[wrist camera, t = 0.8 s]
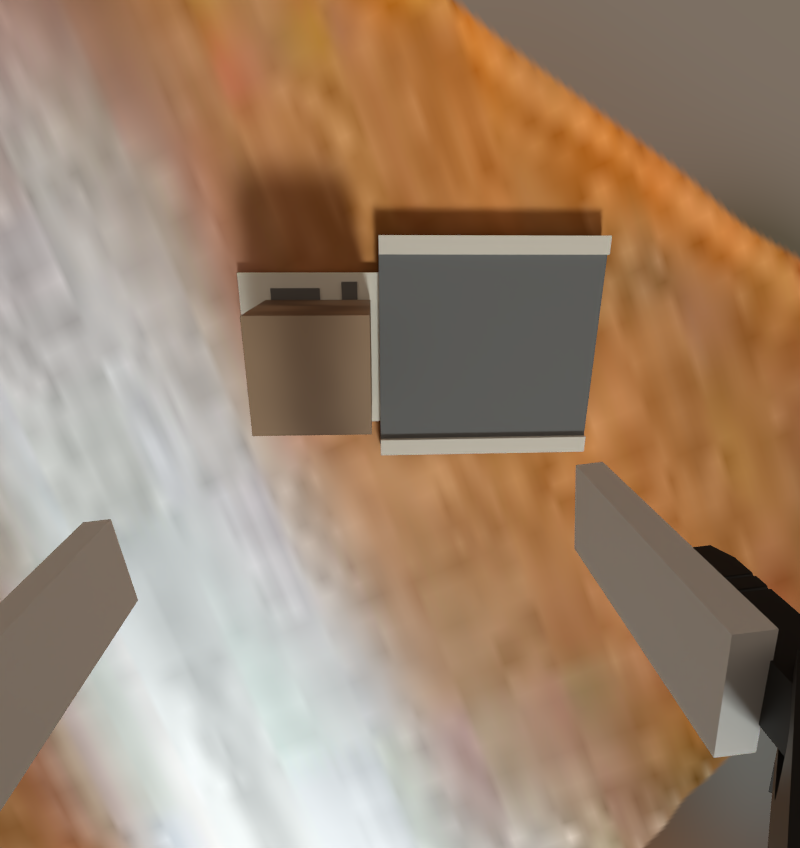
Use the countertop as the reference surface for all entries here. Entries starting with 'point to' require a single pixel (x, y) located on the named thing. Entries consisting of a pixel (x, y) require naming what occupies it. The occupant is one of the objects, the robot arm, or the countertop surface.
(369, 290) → the beige flat square panel
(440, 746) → the countertop surface
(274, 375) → the walnut block
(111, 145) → the countertop surface
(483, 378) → the tray
